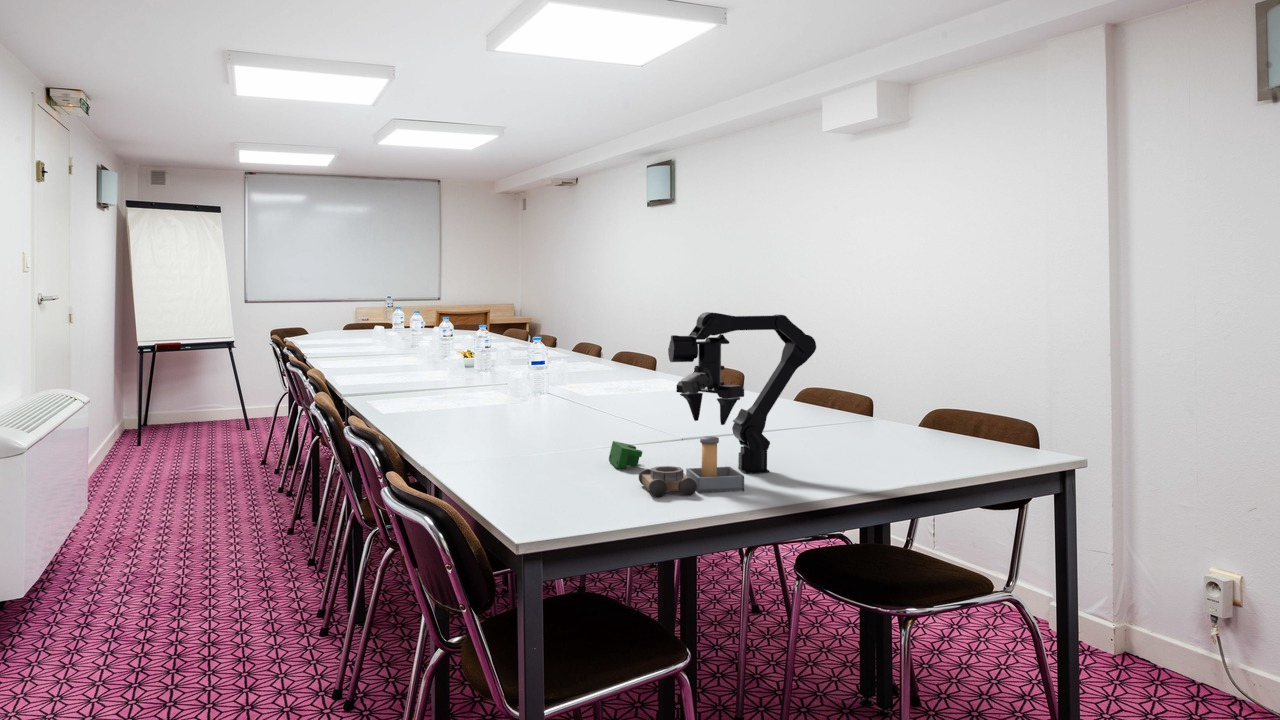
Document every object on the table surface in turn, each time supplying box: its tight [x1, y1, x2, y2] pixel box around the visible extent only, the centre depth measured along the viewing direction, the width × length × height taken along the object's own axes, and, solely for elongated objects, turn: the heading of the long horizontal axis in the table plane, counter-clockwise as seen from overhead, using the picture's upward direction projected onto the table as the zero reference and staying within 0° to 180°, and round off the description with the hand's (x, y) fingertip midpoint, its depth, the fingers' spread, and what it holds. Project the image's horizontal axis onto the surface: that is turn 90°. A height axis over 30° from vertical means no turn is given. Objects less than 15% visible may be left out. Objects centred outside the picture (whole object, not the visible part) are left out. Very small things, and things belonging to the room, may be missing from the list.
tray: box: [685, 466, 745, 494], centre depth 196 cm, size 11×11×4 cm
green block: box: [608, 440, 643, 470], centre depth 221 cm, size 12×6×9 cm, turn 8°
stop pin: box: [699, 436, 720, 477], centre depth 195 cm, size 4×4×11 cm
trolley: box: [638, 465, 697, 498], centre depth 192 cm, size 11×12×5 cm
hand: (709, 422), depth 210 cm, fingers open, 9 cm apart
